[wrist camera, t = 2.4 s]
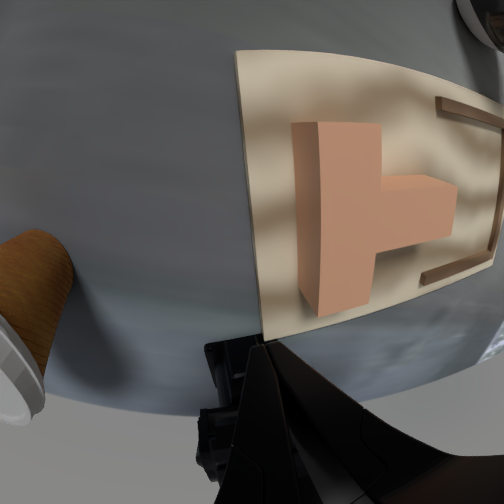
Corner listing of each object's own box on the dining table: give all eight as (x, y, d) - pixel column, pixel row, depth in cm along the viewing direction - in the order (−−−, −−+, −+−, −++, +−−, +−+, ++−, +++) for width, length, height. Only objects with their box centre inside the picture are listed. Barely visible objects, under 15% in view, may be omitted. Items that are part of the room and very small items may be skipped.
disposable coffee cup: (21, 184, 14) (-93, 253, 3) (112, 258, 18) (54, 392, 7) (-8, 272, 16) (-77, 359, 5) (68, 332, 20) (30, 444, 9)
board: (487, 262, 28) (495, 267, 27) (261, 333, 24) (266, 347, 22) (504, 108, 19) (515, 110, 17) (233, 54, 14) (237, 47, 12)
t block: (413, 258, 23) (441, 279, 19) (297, 286, 21) (317, 317, 18) (424, 128, 17) (460, 134, 14) (290, 122, 16) (317, 121, 12)
